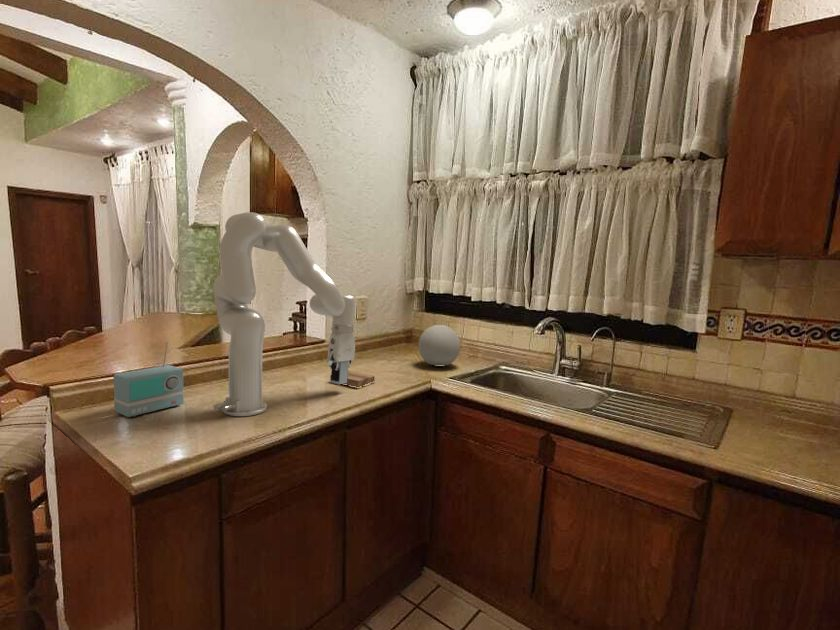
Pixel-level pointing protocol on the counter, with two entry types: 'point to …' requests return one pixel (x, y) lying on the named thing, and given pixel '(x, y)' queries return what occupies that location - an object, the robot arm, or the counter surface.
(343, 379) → the block
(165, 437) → the counter surface
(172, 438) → the counter surface
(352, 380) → the brown box
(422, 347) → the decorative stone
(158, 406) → the radio
